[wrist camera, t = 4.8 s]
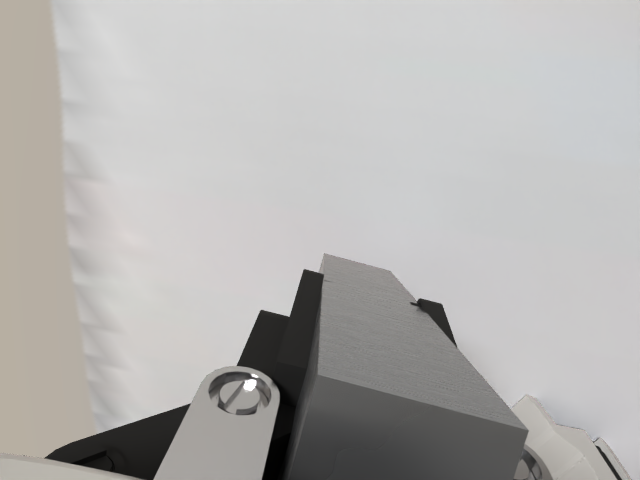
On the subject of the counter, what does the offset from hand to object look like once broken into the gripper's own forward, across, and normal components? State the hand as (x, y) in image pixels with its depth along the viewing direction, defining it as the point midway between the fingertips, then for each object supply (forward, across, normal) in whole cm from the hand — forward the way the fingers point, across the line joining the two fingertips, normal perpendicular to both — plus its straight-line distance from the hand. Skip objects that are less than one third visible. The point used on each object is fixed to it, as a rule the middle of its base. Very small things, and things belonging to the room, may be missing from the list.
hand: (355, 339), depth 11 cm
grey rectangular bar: (+4, 0, +2) cm, 5 cm away
